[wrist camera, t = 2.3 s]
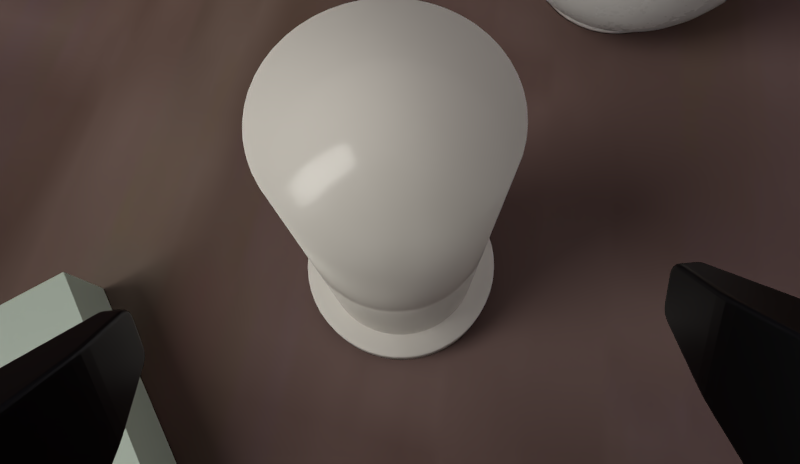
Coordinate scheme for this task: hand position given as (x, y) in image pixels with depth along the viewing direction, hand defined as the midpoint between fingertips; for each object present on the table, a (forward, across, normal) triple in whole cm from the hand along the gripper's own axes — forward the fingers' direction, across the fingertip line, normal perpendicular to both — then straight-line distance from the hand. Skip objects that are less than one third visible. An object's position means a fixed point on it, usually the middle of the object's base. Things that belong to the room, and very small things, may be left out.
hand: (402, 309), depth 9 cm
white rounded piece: (+10, 0, +5) cm, 11 cm away
